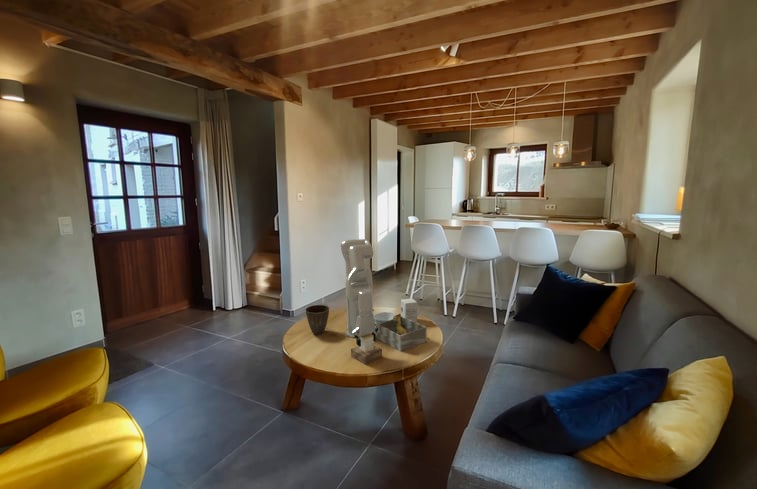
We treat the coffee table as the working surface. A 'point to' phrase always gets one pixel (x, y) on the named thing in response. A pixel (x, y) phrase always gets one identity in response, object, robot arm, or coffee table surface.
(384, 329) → the grey crate
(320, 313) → the plant pot
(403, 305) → the supplement box
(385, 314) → the chinaware
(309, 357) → the coffee table surface
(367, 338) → the tea tin
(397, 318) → the stuffed giraffe
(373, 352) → the walnut box
